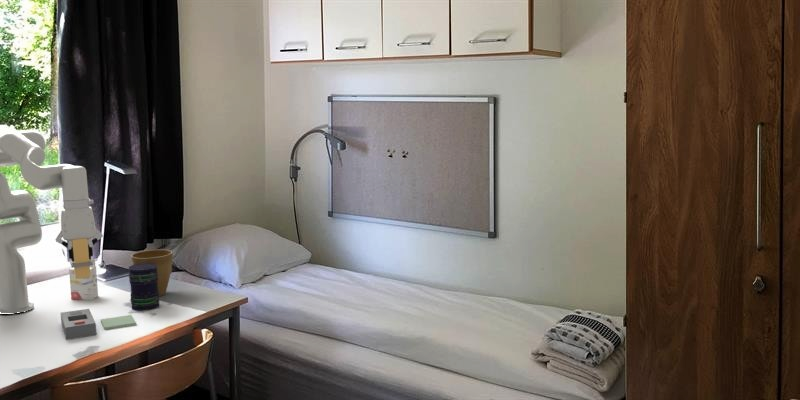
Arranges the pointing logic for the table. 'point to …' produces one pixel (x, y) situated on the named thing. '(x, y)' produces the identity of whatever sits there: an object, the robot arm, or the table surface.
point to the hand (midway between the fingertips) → (81, 259)
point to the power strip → (78, 324)
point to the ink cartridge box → (84, 285)
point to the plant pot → (163, 265)
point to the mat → (118, 322)
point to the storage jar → (144, 286)
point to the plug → (81, 258)
